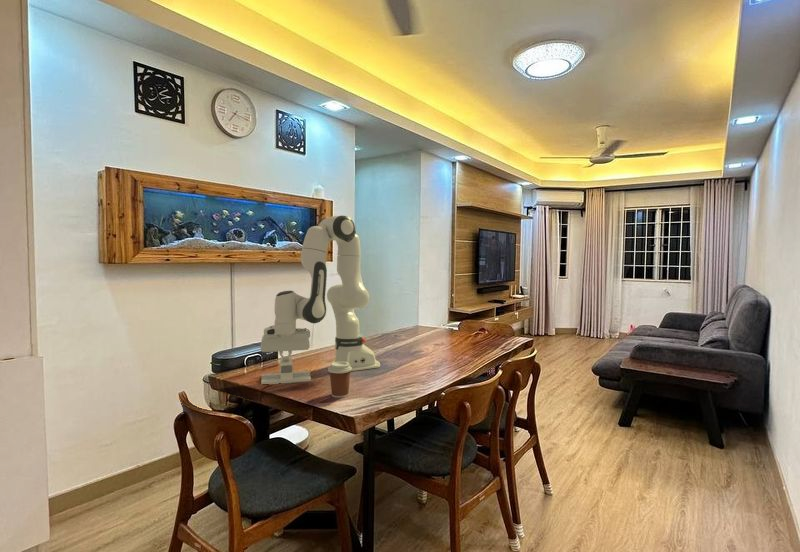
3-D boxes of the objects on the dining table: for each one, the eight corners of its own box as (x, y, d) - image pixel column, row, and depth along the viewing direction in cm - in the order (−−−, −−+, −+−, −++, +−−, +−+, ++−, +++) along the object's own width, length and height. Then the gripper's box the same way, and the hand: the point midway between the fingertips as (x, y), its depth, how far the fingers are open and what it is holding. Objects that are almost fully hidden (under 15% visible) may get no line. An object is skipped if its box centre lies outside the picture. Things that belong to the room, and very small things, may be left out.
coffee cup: (335, 389, 165) (335, 359, 165) (356, 392, 162) (356, 362, 161) (323, 397, 157) (323, 365, 156) (344, 400, 154) (344, 367, 153)
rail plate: (308, 373, 188) (308, 367, 188) (311, 381, 177) (311, 375, 177) (261, 377, 183) (261, 371, 182) (261, 385, 171) (261, 379, 171)
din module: (291, 373, 185) (291, 358, 184) (292, 379, 176) (292, 363, 176) (280, 374, 183) (279, 358, 183) (280, 380, 174) (280, 364, 174)
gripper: (309, 326, 185) (309, 357, 185) (260, 328, 179) (260, 360, 179) (310, 329, 179) (310, 361, 179) (260, 331, 173) (260, 364, 173)
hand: (285, 361), depth 179 cm, fingers closed, pressing on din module
